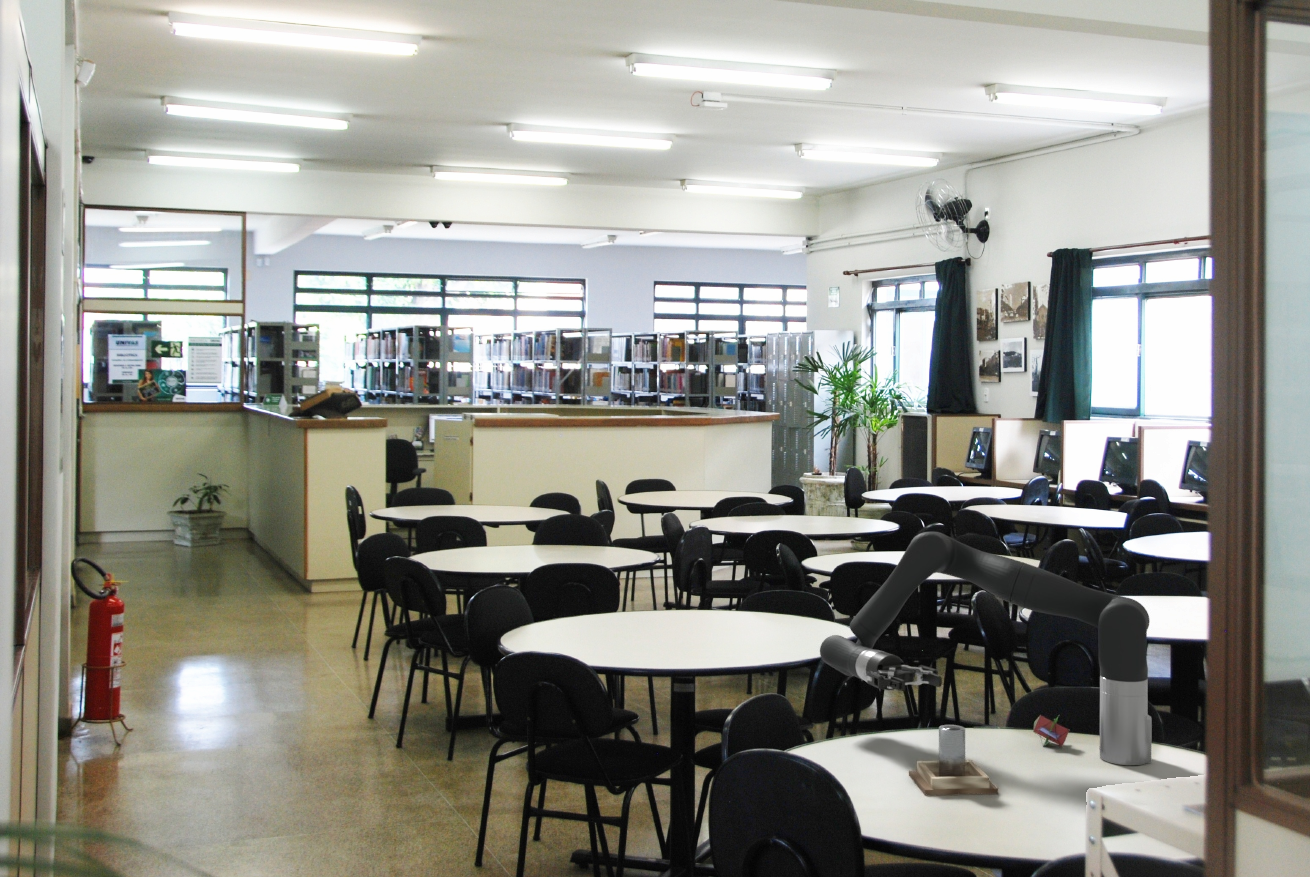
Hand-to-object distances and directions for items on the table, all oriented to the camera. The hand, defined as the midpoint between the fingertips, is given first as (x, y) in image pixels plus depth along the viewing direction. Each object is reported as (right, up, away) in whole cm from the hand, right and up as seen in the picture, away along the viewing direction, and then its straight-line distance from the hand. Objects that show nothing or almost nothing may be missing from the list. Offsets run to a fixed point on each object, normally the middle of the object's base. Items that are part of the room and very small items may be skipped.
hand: (922, 683), depth 239 cm
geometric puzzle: (+32, -17, +16) cm, 39 cm away
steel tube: (+4, -16, -10) cm, 19 cm away
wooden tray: (+4, -17, -10) cm, 20 cm away
